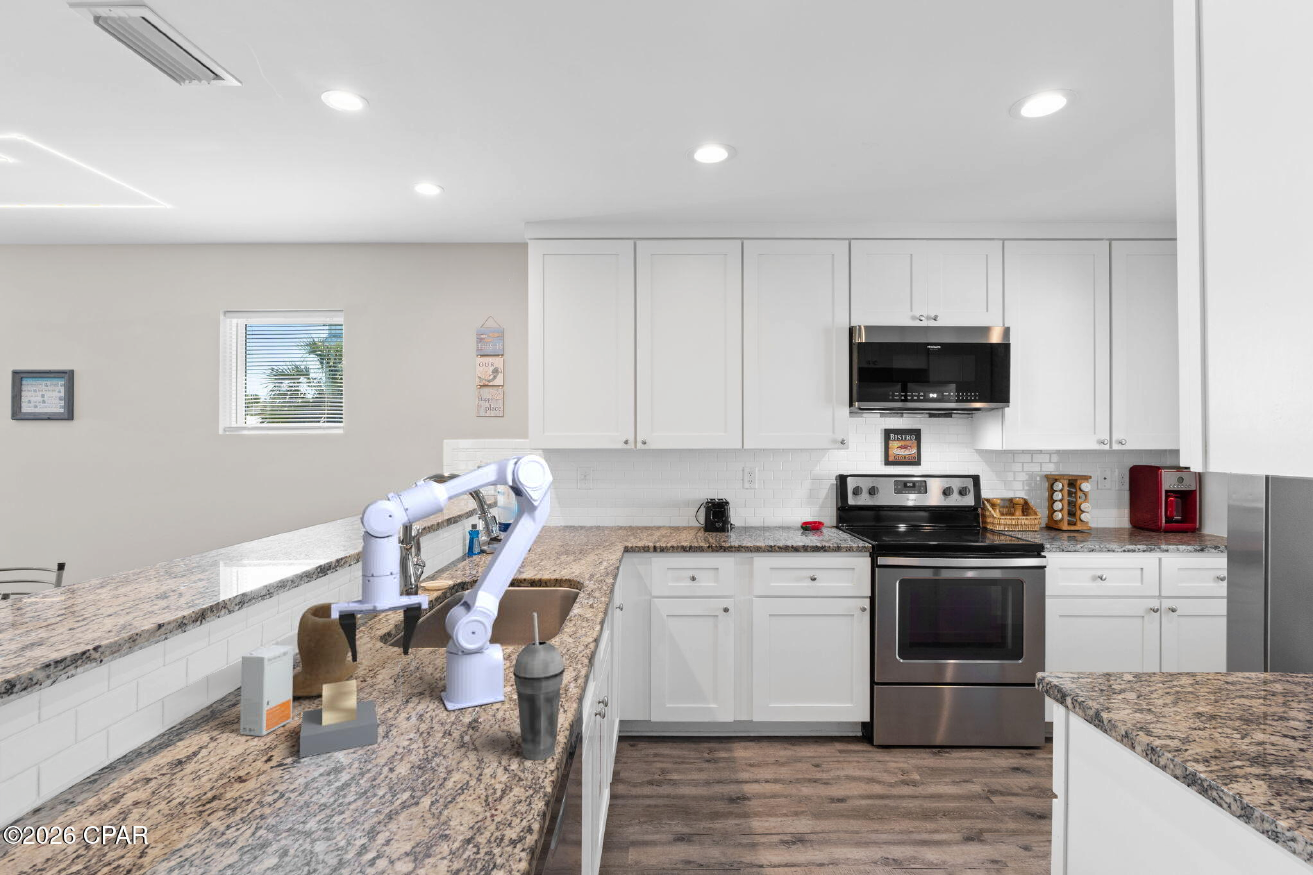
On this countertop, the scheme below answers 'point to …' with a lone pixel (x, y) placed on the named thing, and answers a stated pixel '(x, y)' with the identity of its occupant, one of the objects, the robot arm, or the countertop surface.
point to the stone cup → (321, 652)
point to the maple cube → (339, 702)
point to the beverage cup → (538, 696)
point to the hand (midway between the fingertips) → (380, 656)
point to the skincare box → (266, 690)
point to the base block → (338, 731)
